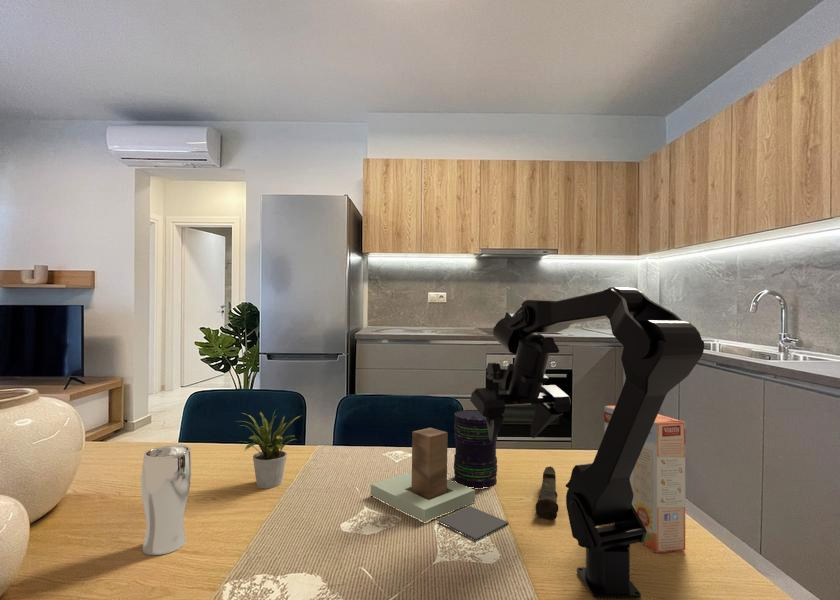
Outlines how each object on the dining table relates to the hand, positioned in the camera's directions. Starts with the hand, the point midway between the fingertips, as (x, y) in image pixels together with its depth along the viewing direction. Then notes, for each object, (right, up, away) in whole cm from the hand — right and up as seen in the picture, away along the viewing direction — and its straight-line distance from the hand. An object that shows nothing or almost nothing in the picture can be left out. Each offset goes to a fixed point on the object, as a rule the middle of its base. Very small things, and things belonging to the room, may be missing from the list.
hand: (512, 438), depth 86 cm
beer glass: (-59, -13, -15) cm, 62 cm away
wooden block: (-16, -14, +3) cm, 21 cm away
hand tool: (+8, -15, +6) cm, 18 cm away
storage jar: (-5, -15, +15) cm, 22 cm away
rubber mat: (-8, -14, -6) cm, 17 cm away
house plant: (-52, -14, +11) cm, 55 cm away
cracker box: (+21, -14, -8) cm, 27 cm away
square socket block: (-17, -14, +5) cm, 23 cm away
